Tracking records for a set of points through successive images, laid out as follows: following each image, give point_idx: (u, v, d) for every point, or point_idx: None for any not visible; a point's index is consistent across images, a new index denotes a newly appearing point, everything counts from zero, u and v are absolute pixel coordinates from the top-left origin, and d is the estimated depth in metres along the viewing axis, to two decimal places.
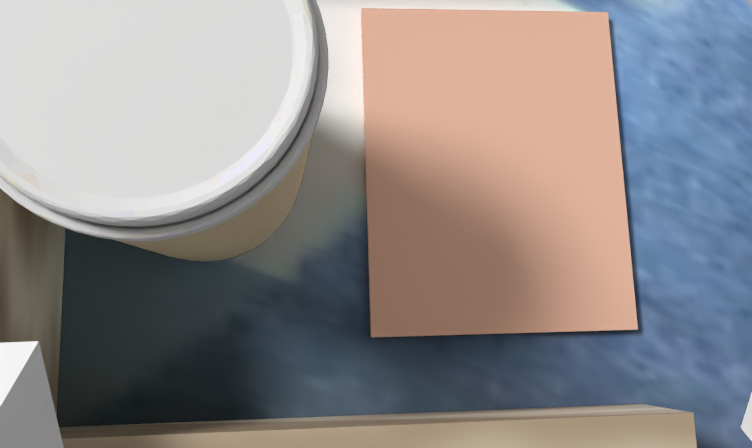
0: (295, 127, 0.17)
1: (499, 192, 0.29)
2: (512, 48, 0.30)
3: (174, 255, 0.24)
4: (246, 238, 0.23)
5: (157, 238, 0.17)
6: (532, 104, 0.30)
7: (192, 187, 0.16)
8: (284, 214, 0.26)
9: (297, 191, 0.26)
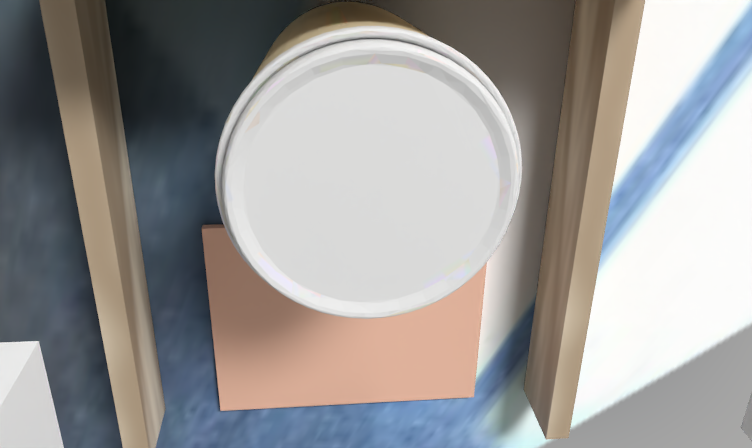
0: (306, 306, 0.22)
1: (326, 321, 0.36)
2: (447, 332, 0.37)
3: None
4: None
5: None
6: (399, 345, 0.37)
7: (254, 238, 0.21)
8: None
9: None
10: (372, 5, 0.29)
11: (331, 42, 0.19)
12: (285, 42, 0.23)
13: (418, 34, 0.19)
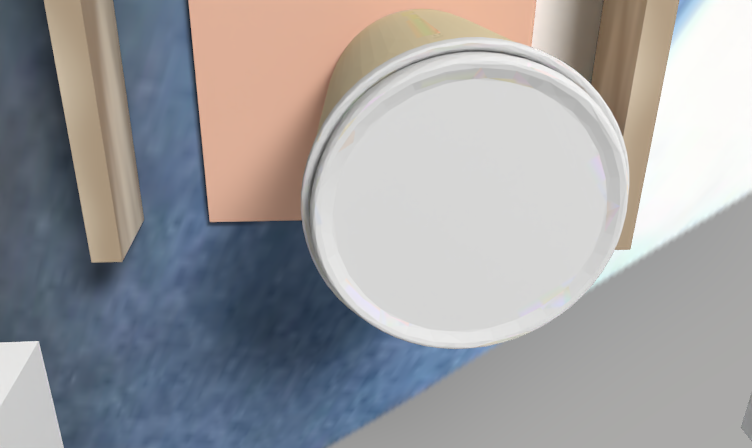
0: (393, 335, 0.21)
1: None
2: None
3: None
4: None
5: (302, 225, 0.20)
6: None
7: (342, 264, 0.19)
8: None
9: None
10: None
11: (431, 55, 0.18)
12: (370, 53, 0.21)
13: (525, 46, 0.18)
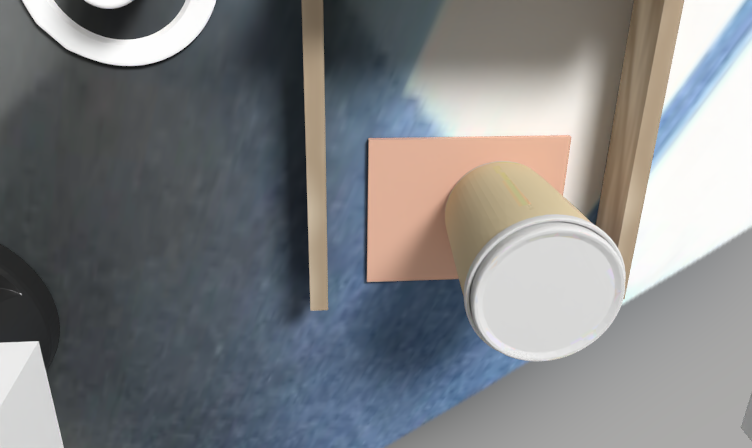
0: (507, 355, 0.41)
1: None
2: None
3: (451, 231, 0.46)
4: None
5: (464, 301, 0.40)
6: None
7: (485, 321, 0.39)
8: None
9: None
10: (517, 164, 0.48)
11: (533, 224, 0.38)
12: (491, 209, 0.41)
13: (576, 219, 0.38)
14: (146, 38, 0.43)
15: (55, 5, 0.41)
